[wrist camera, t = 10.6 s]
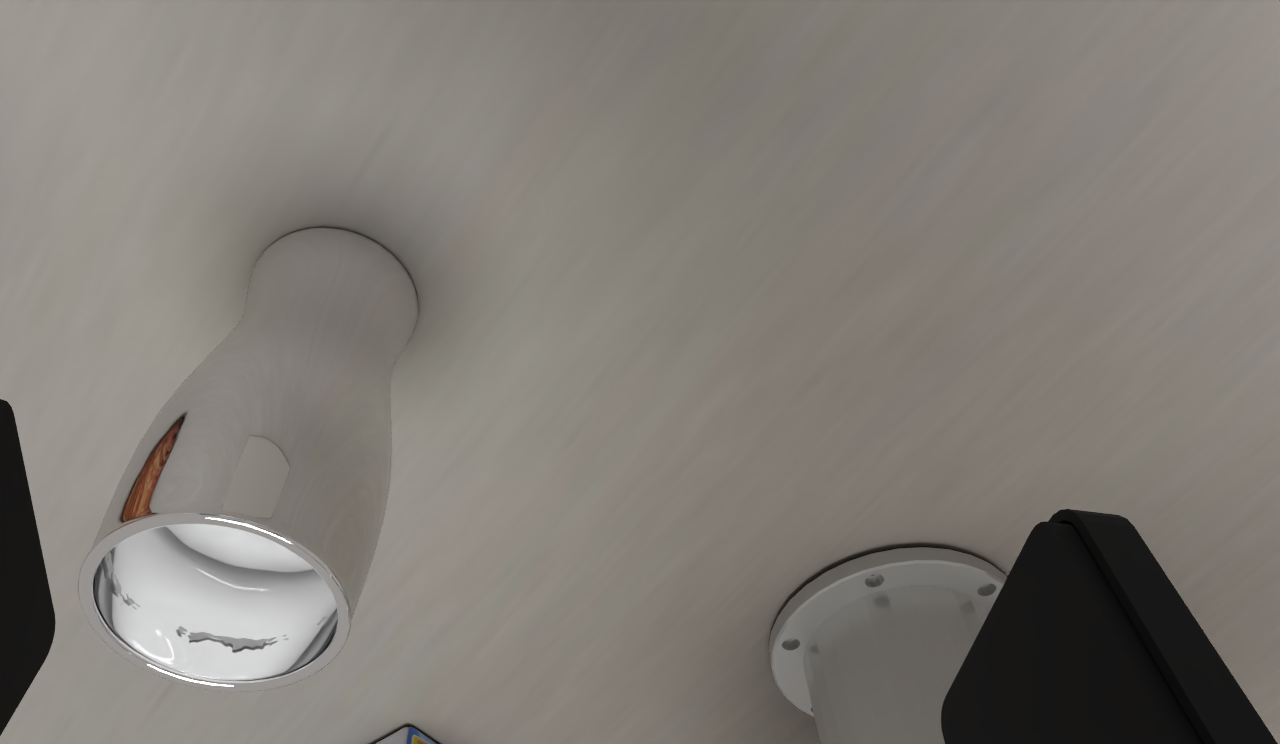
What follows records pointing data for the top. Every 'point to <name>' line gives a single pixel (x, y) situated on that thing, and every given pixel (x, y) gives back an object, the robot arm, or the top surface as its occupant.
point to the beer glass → (261, 479)
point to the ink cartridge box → (407, 737)
